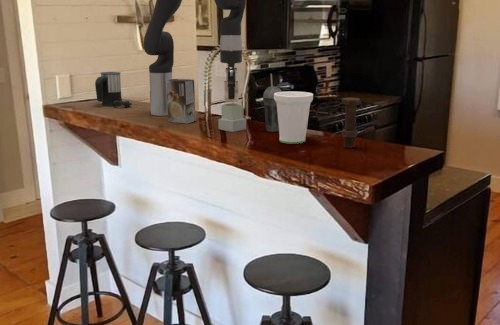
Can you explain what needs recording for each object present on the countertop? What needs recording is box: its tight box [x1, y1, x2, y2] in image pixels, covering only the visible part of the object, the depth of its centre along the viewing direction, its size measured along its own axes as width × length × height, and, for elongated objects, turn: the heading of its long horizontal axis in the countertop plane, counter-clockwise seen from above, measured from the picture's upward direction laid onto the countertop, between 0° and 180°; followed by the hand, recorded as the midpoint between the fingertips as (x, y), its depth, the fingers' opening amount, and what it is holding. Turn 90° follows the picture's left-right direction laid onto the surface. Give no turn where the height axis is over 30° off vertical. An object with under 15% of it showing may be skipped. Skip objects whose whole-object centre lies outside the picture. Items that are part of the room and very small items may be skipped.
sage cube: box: [221, 102, 244, 121], centre depth 189 cm, size 6×6×5 cm
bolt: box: [340, 97, 362, 149], centre depth 161 cm, size 6×5×15 cm
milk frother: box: [94, 71, 133, 108], centre depth 239 cm, size 14×16×15 cm
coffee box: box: [166, 78, 196, 125], centre depth 202 cm, size 9×6×16 cm
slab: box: [218, 117, 247, 133], centre depth 190 cm, size 7×7×4 cm
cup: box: [274, 90, 314, 145], centre depth 169 cm, size 12×12×15 cm
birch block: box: [224, 80, 239, 103], centre depth 187 cm, size 5×5×7 cm
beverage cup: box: [262, 73, 283, 133], centre depth 185 cm, size 7×7×20 cm
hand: (231, 97), depth 187 cm, fingers closed on birch block, 4 cm apart
